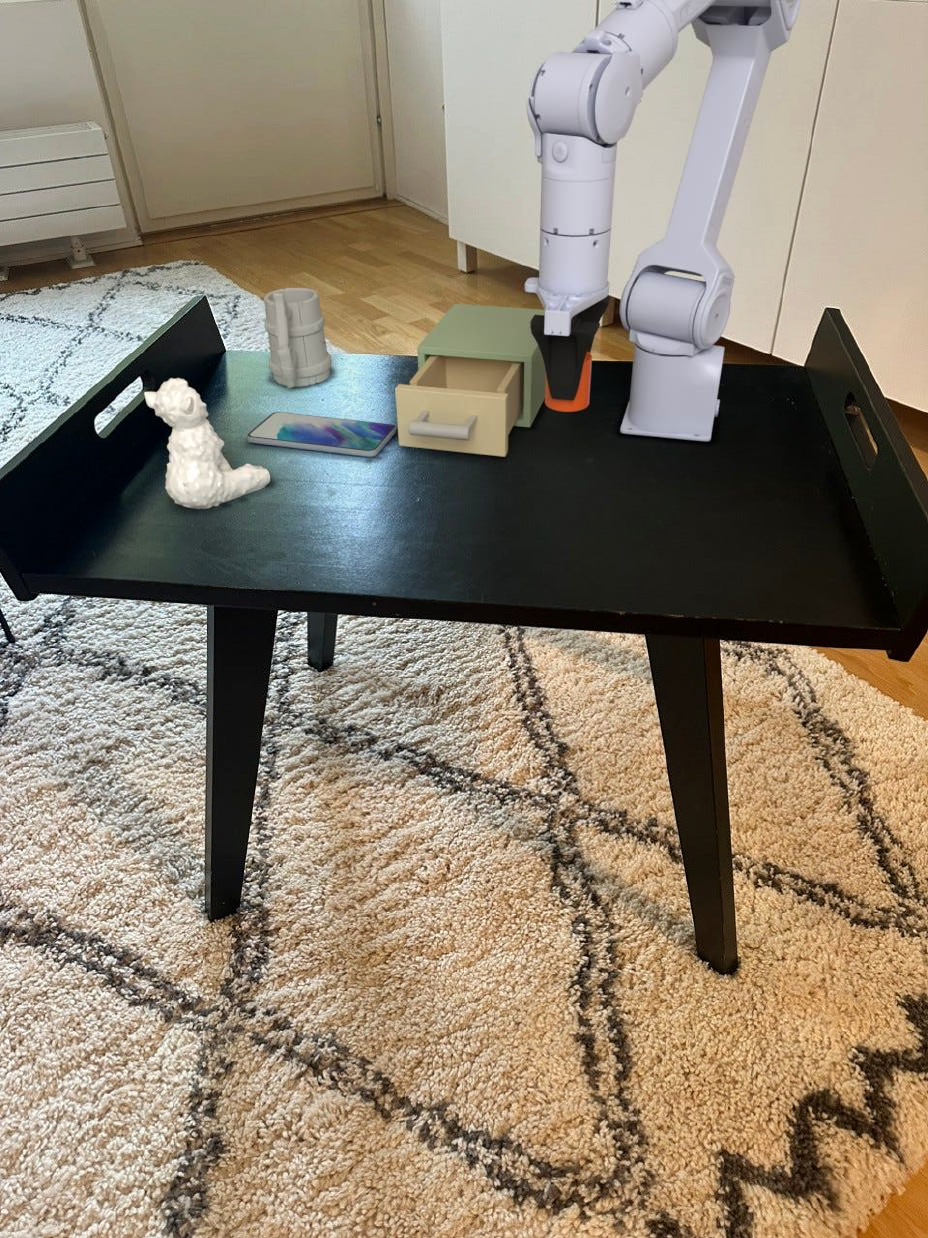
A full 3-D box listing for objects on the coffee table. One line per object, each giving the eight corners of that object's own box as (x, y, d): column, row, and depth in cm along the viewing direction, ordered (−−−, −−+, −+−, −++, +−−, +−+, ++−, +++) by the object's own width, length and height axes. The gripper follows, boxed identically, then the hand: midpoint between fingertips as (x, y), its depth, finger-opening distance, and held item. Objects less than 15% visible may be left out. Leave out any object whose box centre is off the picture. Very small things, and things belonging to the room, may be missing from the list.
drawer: (495, 476, 87) (495, 416, 83) (385, 464, 90) (380, 405, 86) (533, 403, 101) (534, 348, 97) (436, 394, 103) (434, 341, 100)
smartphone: (273, 410, 101) (398, 424, 97) (274, 417, 101) (399, 431, 98) (243, 436, 95) (374, 452, 92) (244, 444, 96) (374, 459, 92)
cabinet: (530, 427, 98) (531, 355, 93) (420, 416, 101) (416, 346, 96) (555, 376, 109) (558, 310, 104) (456, 368, 112) (454, 303, 107)
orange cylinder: (592, 395, 82) (595, 340, 79) (585, 413, 79) (588, 356, 76) (549, 392, 83) (551, 337, 80) (541, 409, 80) (542, 353, 77)
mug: (337, 363, 114) (326, 266, 107) (322, 401, 105) (309, 297, 97) (277, 364, 114) (263, 267, 107) (257, 402, 105) (240, 298, 98)
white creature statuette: (275, 483, 89) (256, 367, 82) (222, 525, 83) (196, 403, 76) (199, 466, 92) (173, 353, 85) (142, 505, 86) (109, 386, 79)
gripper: (544, 204, 79) (539, 355, 87) (507, 249, 68) (506, 417, 76) (624, 207, 77) (612, 360, 85) (600, 253, 66) (589, 424, 74)
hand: (567, 387), depth 80 cm, fingers closed on orange cylinder, 4 cm apart
